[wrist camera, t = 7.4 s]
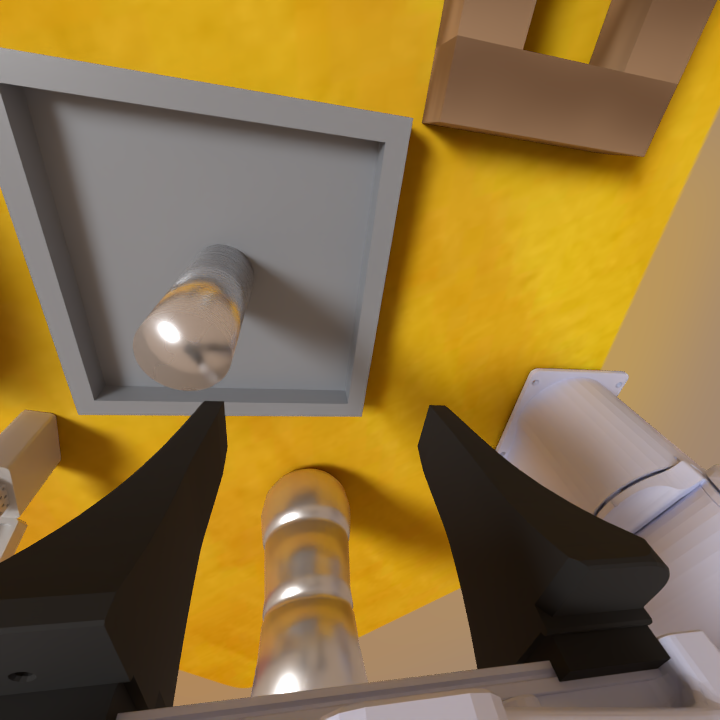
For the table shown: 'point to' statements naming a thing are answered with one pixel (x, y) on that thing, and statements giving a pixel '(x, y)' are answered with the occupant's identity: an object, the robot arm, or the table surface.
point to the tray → (200, 227)
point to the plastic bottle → (307, 588)
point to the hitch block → (562, 74)
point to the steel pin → (197, 321)
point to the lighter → (24, 470)
